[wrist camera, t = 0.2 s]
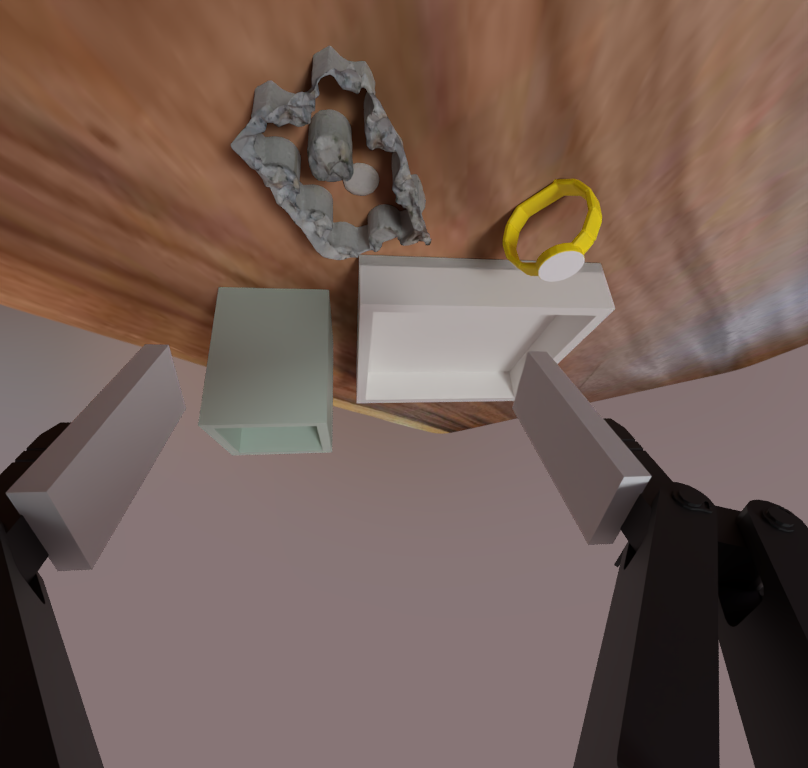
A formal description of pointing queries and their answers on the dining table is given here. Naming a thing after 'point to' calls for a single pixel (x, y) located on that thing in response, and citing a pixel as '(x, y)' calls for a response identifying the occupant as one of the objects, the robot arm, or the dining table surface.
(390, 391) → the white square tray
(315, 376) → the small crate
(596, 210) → the watch
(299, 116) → the egg carton
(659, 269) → the dining table surface
